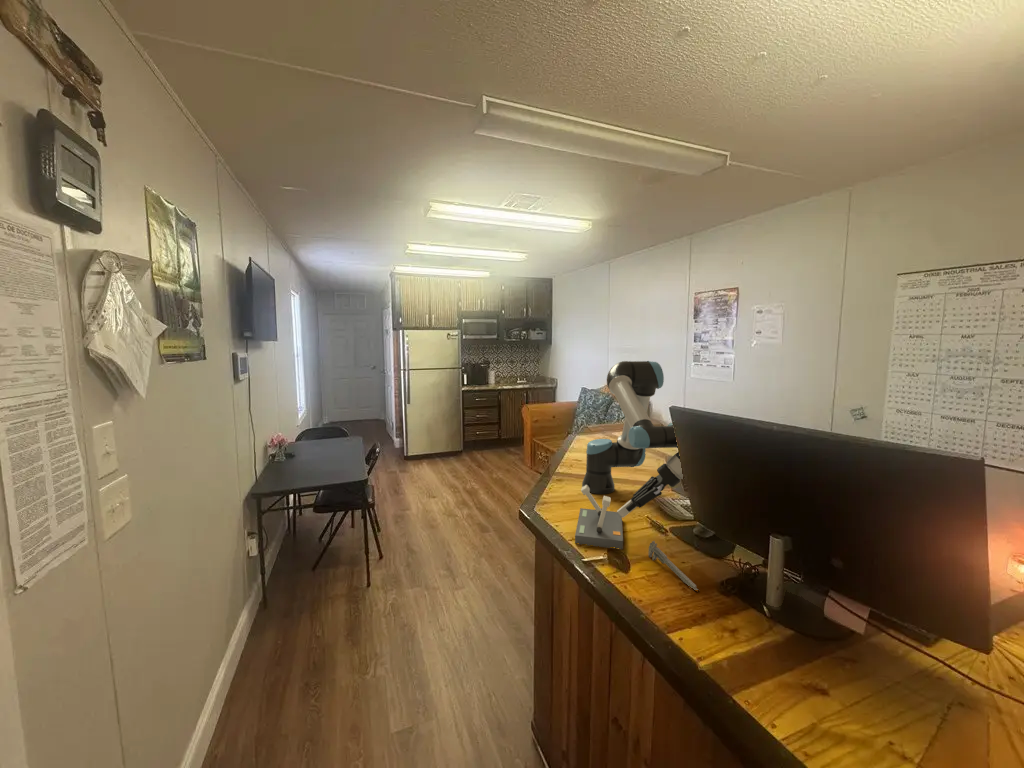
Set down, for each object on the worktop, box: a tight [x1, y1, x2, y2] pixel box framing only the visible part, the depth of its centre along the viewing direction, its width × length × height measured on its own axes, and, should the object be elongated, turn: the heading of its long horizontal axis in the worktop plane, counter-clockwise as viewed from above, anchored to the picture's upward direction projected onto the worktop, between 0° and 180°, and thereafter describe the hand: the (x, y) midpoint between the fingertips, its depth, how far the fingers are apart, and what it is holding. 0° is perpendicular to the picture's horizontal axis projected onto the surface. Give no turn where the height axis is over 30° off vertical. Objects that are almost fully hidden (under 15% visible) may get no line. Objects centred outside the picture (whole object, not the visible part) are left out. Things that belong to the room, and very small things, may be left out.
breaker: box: [580, 485, 602, 516], centre depth 158 cm, size 4×2×12 cm
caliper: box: [648, 540, 699, 591], centre depth 123 cm, size 20×1×6 cm, turn 21°
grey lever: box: [597, 495, 612, 533], centre depth 143 cm, size 4×2×12 cm, turn 166°
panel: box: [574, 507, 624, 550], centre depth 151 cm, size 24×16×3 cm, turn 166°
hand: (620, 514), depth 141 cm, fingers closed
